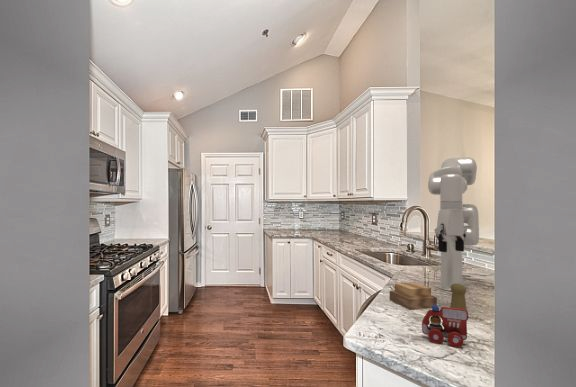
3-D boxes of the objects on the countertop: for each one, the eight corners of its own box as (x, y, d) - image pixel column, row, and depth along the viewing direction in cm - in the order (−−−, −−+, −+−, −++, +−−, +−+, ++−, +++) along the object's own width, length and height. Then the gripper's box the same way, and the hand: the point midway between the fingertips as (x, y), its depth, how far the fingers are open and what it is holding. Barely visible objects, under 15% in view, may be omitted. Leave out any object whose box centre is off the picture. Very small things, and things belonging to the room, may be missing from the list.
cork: (465, 312, 120) (465, 283, 120) (469, 317, 114) (469, 286, 114) (448, 310, 122) (448, 281, 122) (450, 315, 116) (450, 285, 116)
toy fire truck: (422, 333, 99) (422, 299, 99) (467, 341, 93) (467, 306, 94) (421, 341, 93) (421, 305, 93) (469, 350, 87) (469, 312, 88)
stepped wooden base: (414, 298, 137) (414, 281, 137) (436, 307, 124) (436, 288, 125) (389, 300, 133) (389, 282, 133) (409, 310, 121) (409, 290, 121)
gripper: (456, 207, 126) (457, 249, 125) (427, 205, 119) (427, 250, 118) (474, 207, 120) (475, 252, 119) (444, 205, 112) (444, 253, 111)
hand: (451, 251), depth 118 cm, fingers open, 9 cm apart
